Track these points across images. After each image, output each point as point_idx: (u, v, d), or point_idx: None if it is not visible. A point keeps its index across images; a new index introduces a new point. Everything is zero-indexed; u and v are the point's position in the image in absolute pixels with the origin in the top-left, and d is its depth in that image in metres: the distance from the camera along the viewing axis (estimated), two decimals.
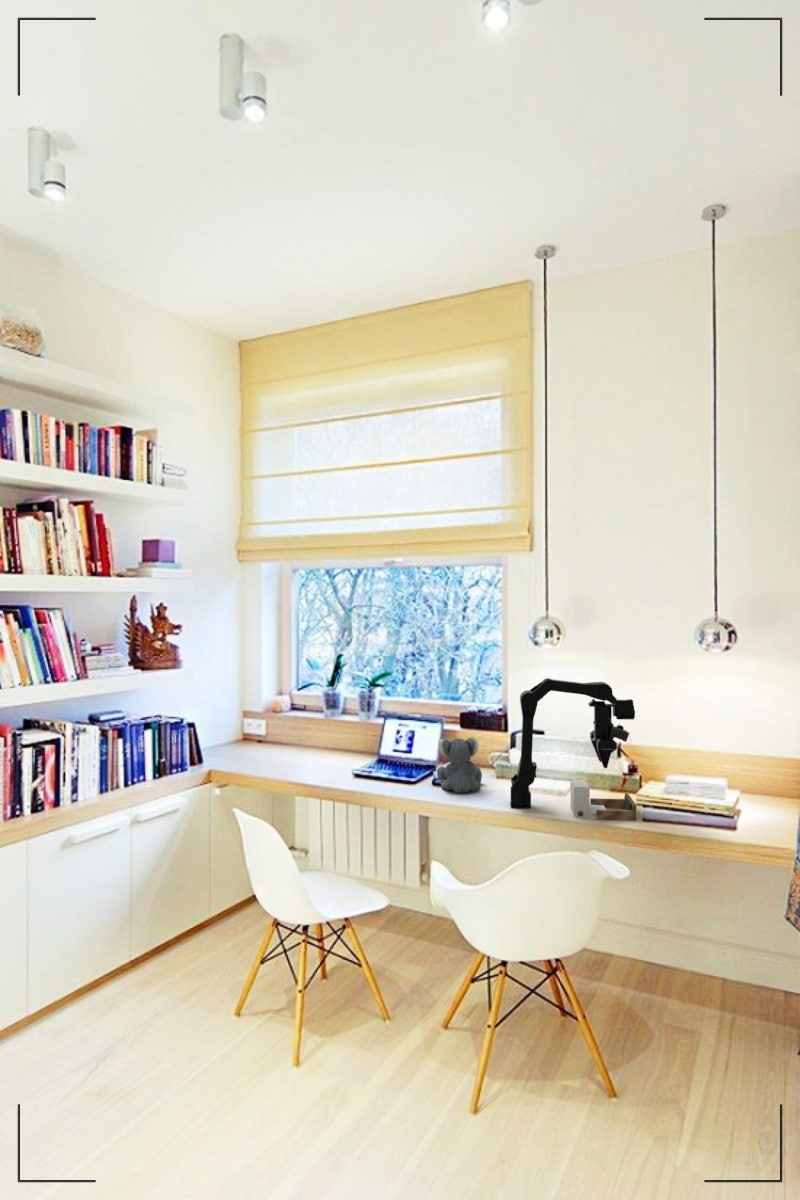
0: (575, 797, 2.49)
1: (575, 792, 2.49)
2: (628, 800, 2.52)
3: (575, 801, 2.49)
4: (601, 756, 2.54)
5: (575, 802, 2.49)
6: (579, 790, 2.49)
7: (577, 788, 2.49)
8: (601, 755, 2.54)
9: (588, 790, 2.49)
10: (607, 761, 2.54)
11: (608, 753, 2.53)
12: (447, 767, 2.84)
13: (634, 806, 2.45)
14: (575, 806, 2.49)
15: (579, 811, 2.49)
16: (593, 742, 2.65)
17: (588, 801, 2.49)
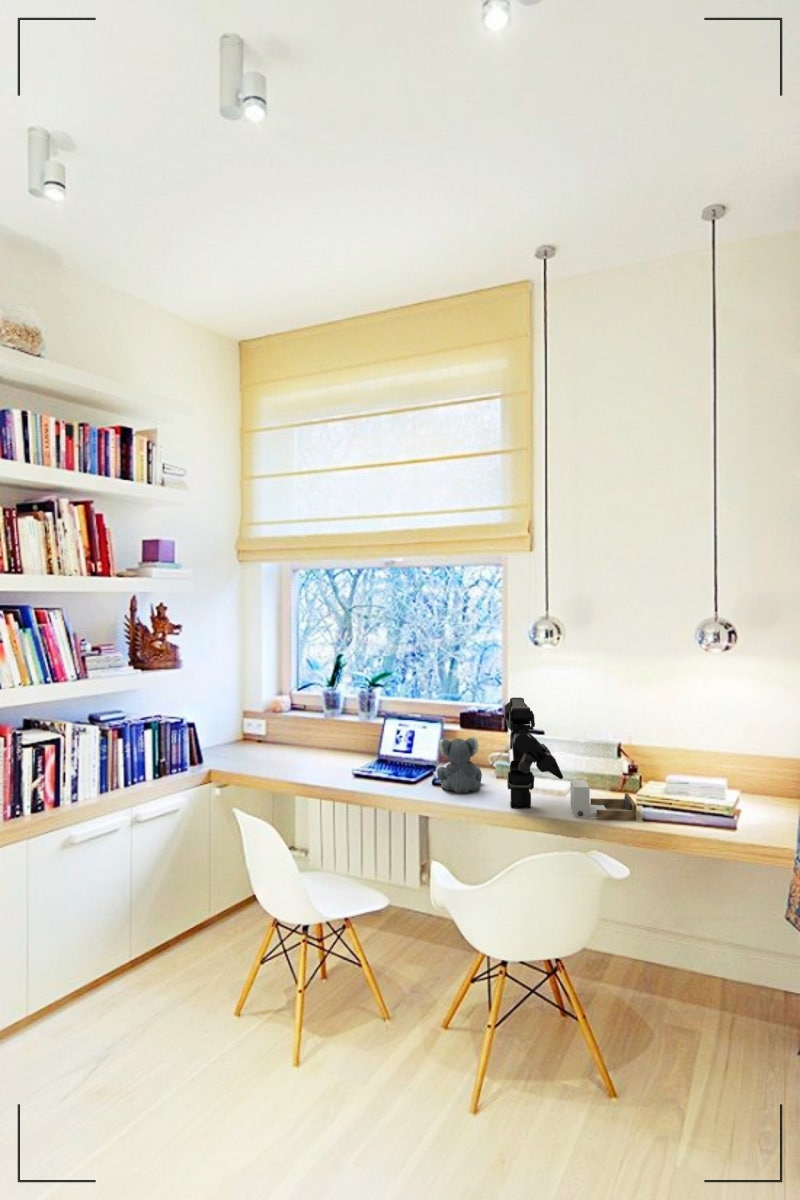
0: (575, 797, 2.49)
1: (575, 792, 2.49)
2: (628, 800, 2.52)
3: (575, 801, 2.49)
4: None
5: (575, 802, 2.49)
6: (579, 790, 2.49)
7: (577, 788, 2.49)
8: None
9: (588, 790, 2.49)
10: None
11: None
12: (447, 767, 2.84)
13: (634, 806, 2.45)
14: (575, 806, 2.49)
15: (579, 811, 2.49)
16: None
17: (588, 801, 2.49)
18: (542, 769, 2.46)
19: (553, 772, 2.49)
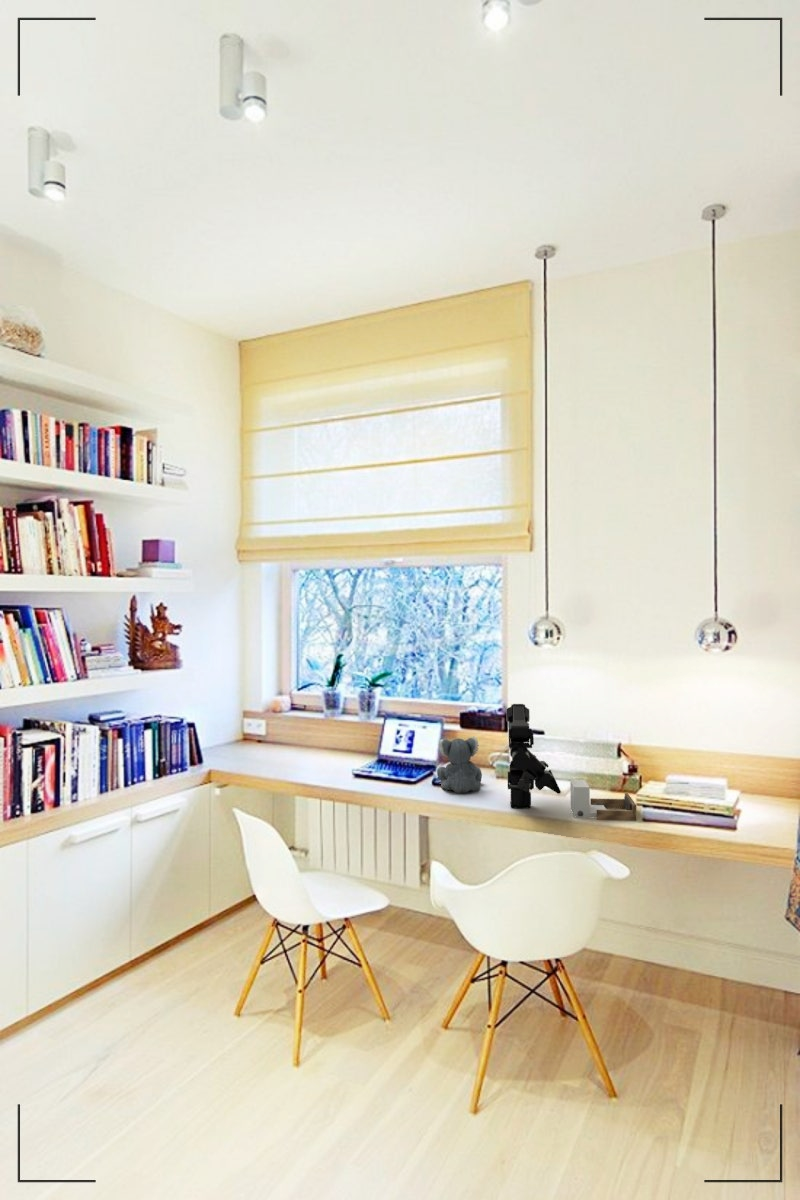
0: (575, 797, 2.49)
1: (575, 792, 2.49)
2: (628, 800, 2.52)
3: (575, 801, 2.49)
4: None
5: (575, 802, 2.49)
6: (579, 790, 2.49)
7: (577, 788, 2.49)
8: None
9: (588, 790, 2.49)
10: None
11: None
12: (447, 767, 2.84)
13: (634, 806, 2.45)
14: (575, 806, 2.49)
15: (579, 811, 2.49)
16: None
17: (588, 801, 2.49)
18: (540, 787, 2.46)
19: (550, 787, 2.53)
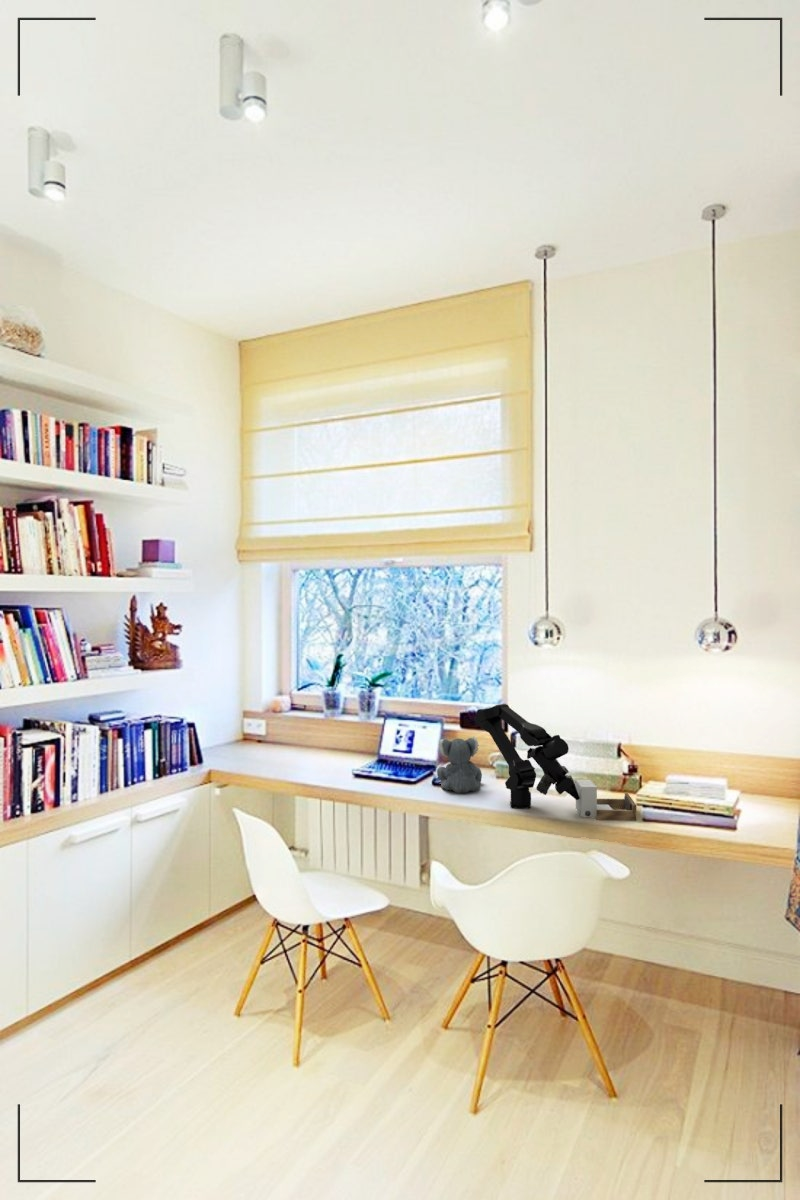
0: (582, 797, 2.49)
1: (582, 792, 2.49)
2: (628, 800, 2.52)
3: (582, 801, 2.49)
4: None
5: (582, 802, 2.49)
6: (586, 790, 2.49)
7: (584, 788, 2.49)
8: None
9: (595, 790, 2.49)
10: None
11: None
12: (447, 767, 2.84)
13: (634, 806, 2.45)
14: (582, 806, 2.49)
15: (587, 811, 2.49)
16: None
17: (595, 801, 2.49)
18: (560, 791, 2.43)
19: (570, 792, 2.51)
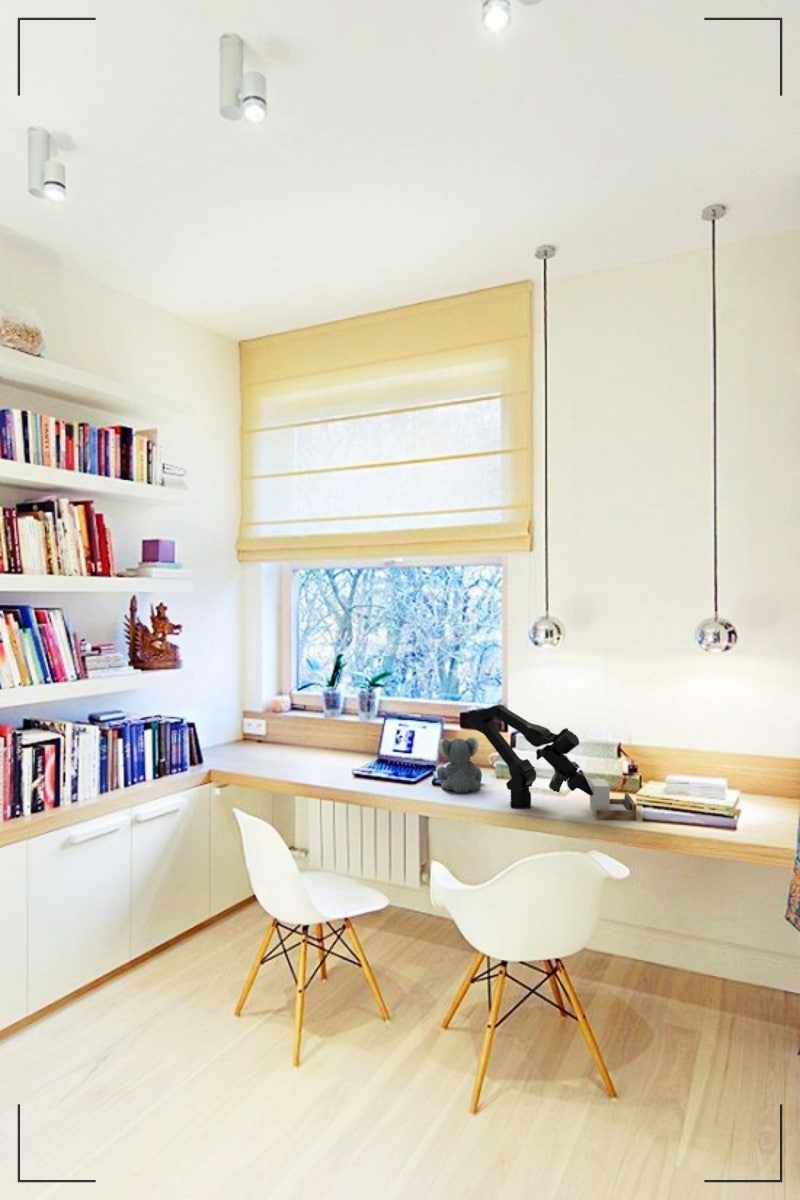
0: (595, 796, 2.50)
1: (595, 791, 2.50)
2: (628, 800, 2.52)
3: (595, 800, 2.50)
4: None
5: (595, 801, 2.50)
6: (599, 789, 2.50)
7: (597, 787, 2.50)
8: None
9: (608, 789, 2.49)
10: None
11: None
12: (447, 767, 2.84)
13: (634, 806, 2.45)
14: (595, 805, 2.50)
15: None
16: None
17: (608, 800, 2.49)
18: (573, 788, 2.45)
19: (583, 789, 2.51)
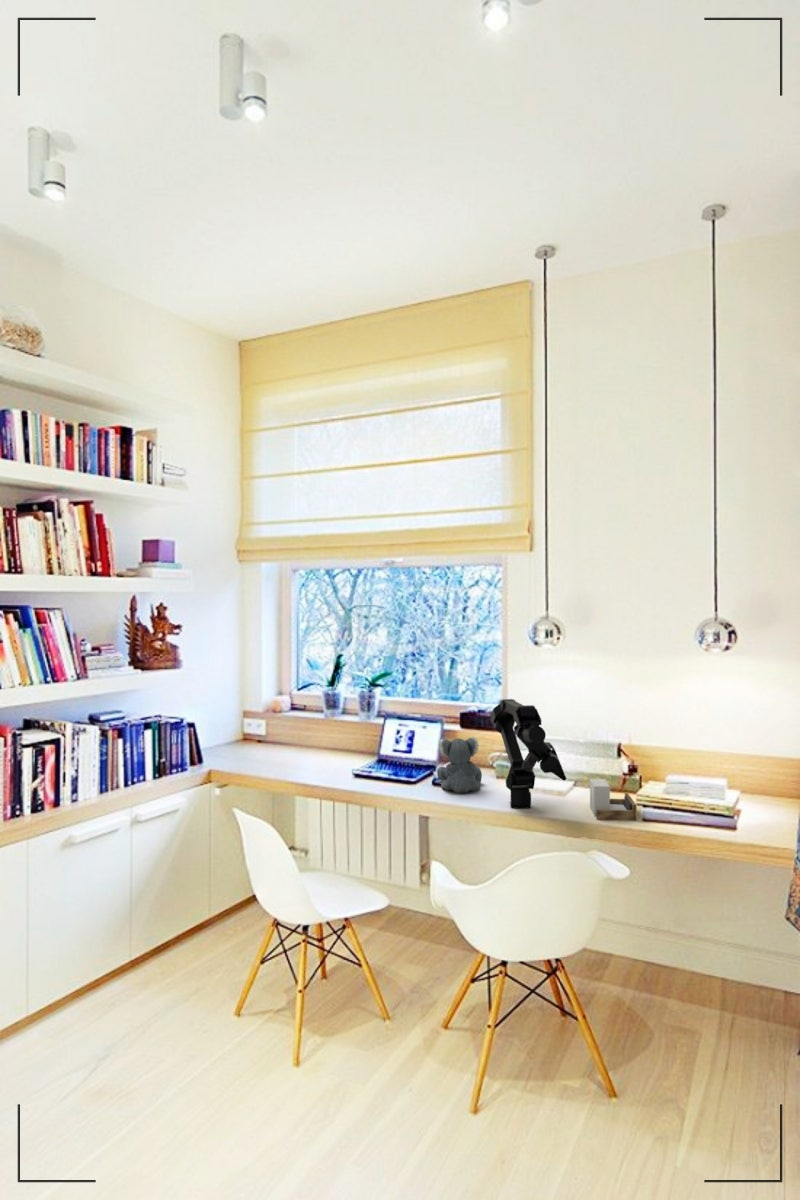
0: (595, 796, 2.50)
1: (595, 791, 2.50)
2: (628, 800, 2.52)
3: (595, 800, 2.50)
4: None
5: (595, 801, 2.50)
6: (599, 789, 2.50)
7: (597, 787, 2.50)
8: None
9: (608, 789, 2.49)
10: None
11: None
12: (447, 767, 2.84)
13: (634, 806, 2.45)
14: (595, 805, 2.50)
15: None
16: None
17: (608, 800, 2.49)
18: (545, 770, 2.46)
19: (556, 773, 2.49)
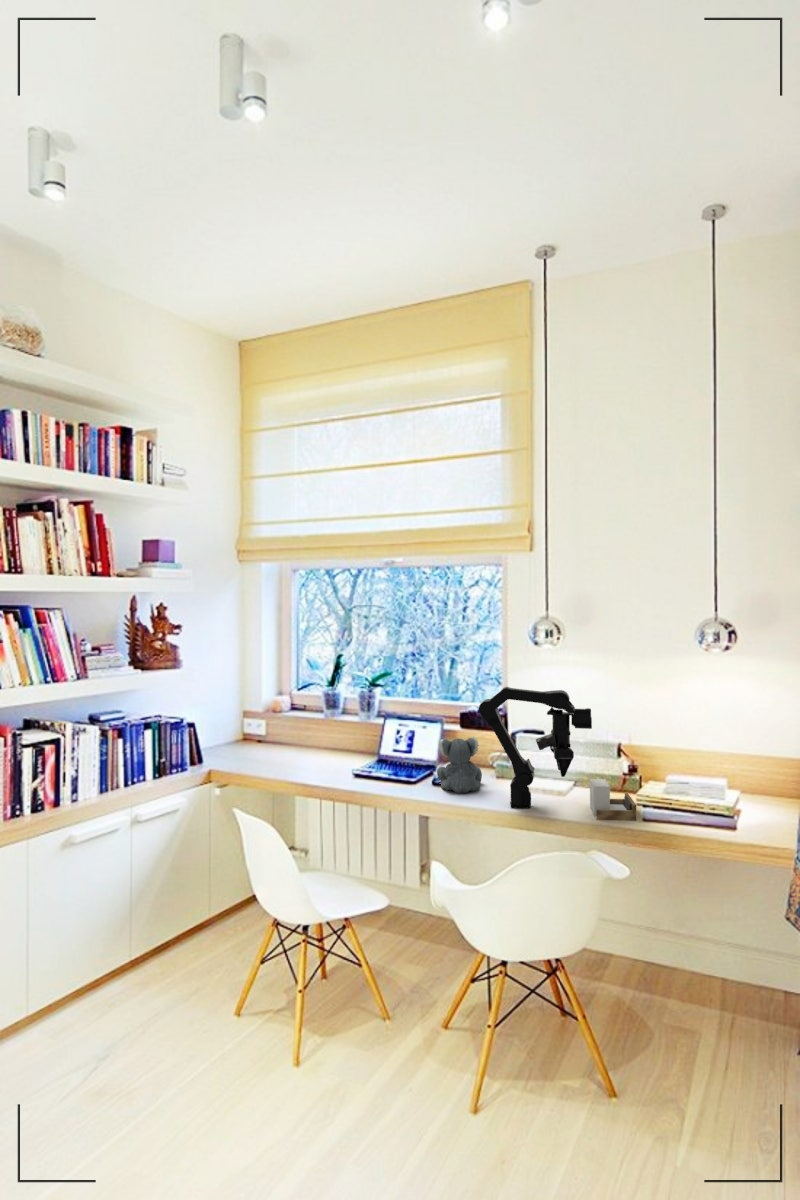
0: (595, 796, 2.50)
1: (595, 791, 2.50)
2: (628, 800, 2.52)
3: (595, 800, 2.50)
4: None
5: (595, 801, 2.50)
6: (599, 789, 2.50)
7: (597, 787, 2.50)
8: None
9: (608, 789, 2.49)
10: None
11: None
12: (447, 767, 2.84)
13: (634, 806, 2.45)
14: (595, 805, 2.50)
15: None
16: None
17: (608, 800, 2.49)
18: (557, 756, 2.50)
19: (561, 766, 2.53)
